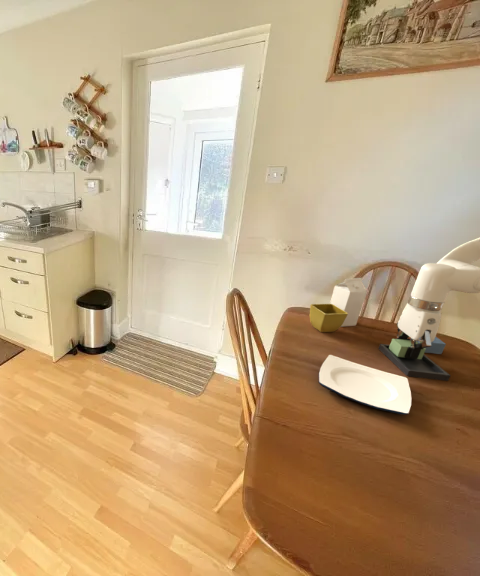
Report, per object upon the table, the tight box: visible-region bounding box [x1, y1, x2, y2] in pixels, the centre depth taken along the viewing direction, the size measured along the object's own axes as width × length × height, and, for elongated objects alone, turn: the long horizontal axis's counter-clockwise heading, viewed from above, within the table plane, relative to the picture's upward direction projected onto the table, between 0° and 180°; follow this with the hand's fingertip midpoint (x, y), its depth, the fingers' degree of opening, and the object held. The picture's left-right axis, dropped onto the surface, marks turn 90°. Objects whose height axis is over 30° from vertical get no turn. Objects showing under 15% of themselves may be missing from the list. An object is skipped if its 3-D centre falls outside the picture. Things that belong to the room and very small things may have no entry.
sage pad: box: [389, 338, 426, 359], centre depth 102 cm, size 6×5×4 cm
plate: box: [318, 354, 412, 416], centre depth 90 cm, size 20×20×3 cm
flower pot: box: [308, 303, 348, 333], centre depth 120 cm, size 9×9×9 cm
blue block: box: [410, 336, 447, 355], centre depth 107 cm, size 6×5×4 cm
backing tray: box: [378, 343, 451, 382], centre depth 100 cm, size 10×16×2 cm, turn 165°
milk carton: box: [329, 277, 368, 328], centre depth 123 cm, size 7×7×19 cm
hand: (405, 352), depth 103 cm, fingers closed on sage pad, 4 cm apart
